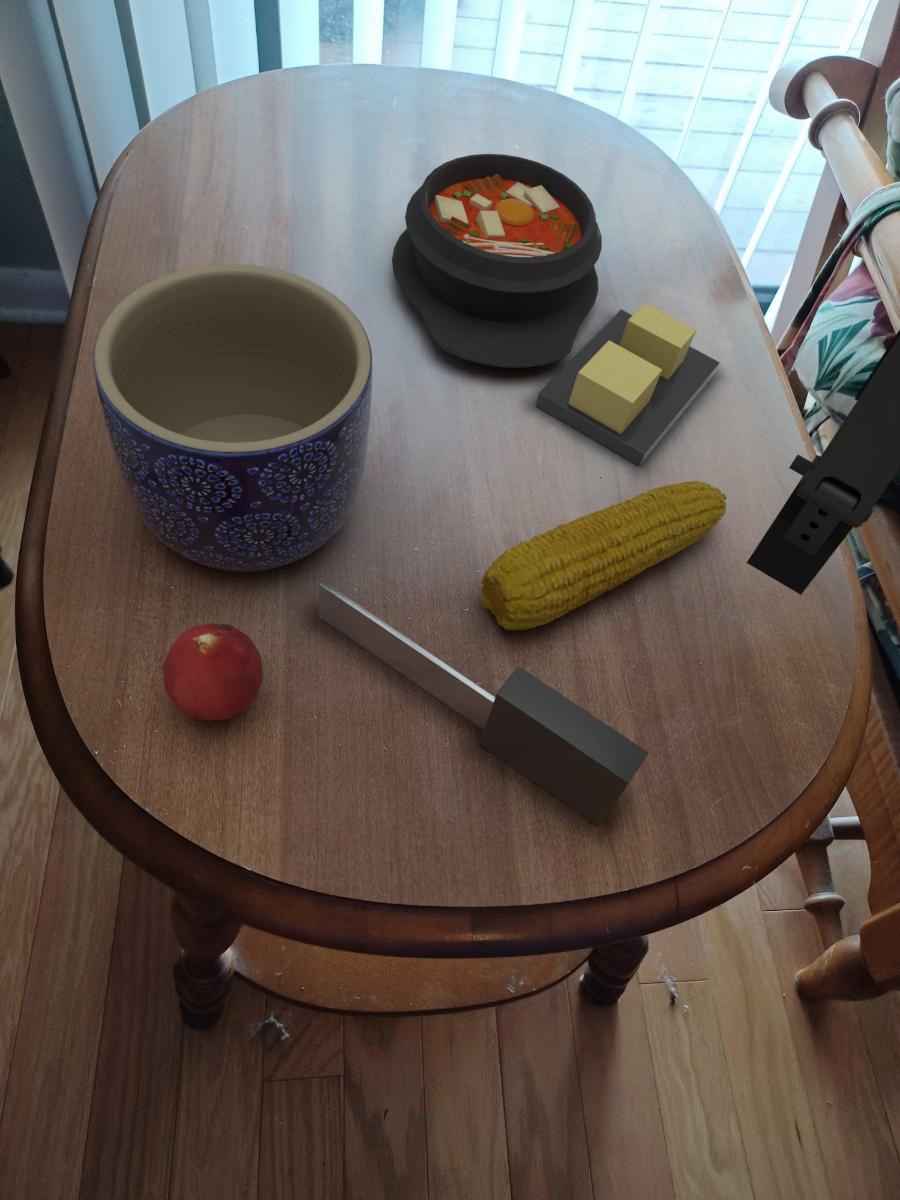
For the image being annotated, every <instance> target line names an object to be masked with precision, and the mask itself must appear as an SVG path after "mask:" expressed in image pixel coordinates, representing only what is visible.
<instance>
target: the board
mask: <svg viewBox="0 0 900 1200" xmlns="http://www.w3.org/2000/svg"><path fill="white" fill-rule="evenodd" d="M632 316H633V314H631V313H629V312H627V311H625V310H624V309H620V310H619V311H618V312H617V313H616V314H614V316H613V317H612V318H611V319H610V320H609V321H608V322H607V323H606V324H605V325H604V326H603V327H602V328H601V329H600V330H599V331H598V332H597V333H596V334H595V335H594V337H592V339H590V340H589V341H588V342H587V344H585V346H584V347H582V348H581V349H580V351H578V353H576V355H575V356H574V357H573V358H571V360H569V362H568V363H567V364H565V366H564V367H563V368H562V369H561V370H560V371H559V372H558V373H556V375H555V376H554V377H553V378H552V379H551V380H550V381H549V382H548V383H547V384H546V385H545V386H544V387H543V388H542V389H541V390H540V391H539V393H538V395H537V400H536V402H535V407H536V408H538V409H540V410H542V411H543V412H545V413H547V414H549V415H550V416H552V417H554V418H555V419H557V420H558V421H560V422H562V423H564V424H566V425H567V426H569V427H571V428H573V430H576V431H578V432H579V433H581V434H583V435H585V436H586V437H588V438H590V439H592V440H593V441H594V442H596V443H598V444H600V445H602V446H603V447H605V448H607V449H609V450H610V451H612V452H614V453H615V454H617V455H619V456H621V457H622V458H624V459H626V460H628V461H629V462H631V463H633V464H635V465H637V466H638V467H640V466H641V465H642V464H643V463H644V462H645V461H646V459H647V458H648V457H649V456H650V454H651V453H652V452H653V450H654V449H655V448H656V447H657V446H658V444H659V443H660V442H661V441H662V440H663V438H664V437H665V436H666V434H667V433H668V432H669V431H670V430H671V428H673V426H674V425H675V424H676V423H677V421H678V420H679V419H680V418H681V416H682V415H683V414H684V413H685V411H686V410H687V409H688V408H689V407H690V405H691V404H692V403H693V402H694V400H695V399H696V398H697V397H698V396H699V394H700V393H702V391H703V390H704V388H705V387H706V386H707V384H709V382H710V381H711V380H712V379H713V377H714V376H715V374H716V372H717V370H718V368H719V365H720V364H721V362H720V361H718V360H716V359H714V358H713V357H711V356H709V355H708V354H705V353H704V352H701V351H699V350H697V349H696V348H693V347H692V346H690V347H689V349H688V351H687V354H686V356H685V358H684V361H683V362H682V363H681V365H680V366H679V367H678V368H677V369H676V371H675V372H674V373H673V374H672V375H671V377H670V378H669V379H668V380H667V379H665V378H664V377H662V376H660V377H659V379H658V382H657V384H656V386H655V389H654V391H653V394H652V396H651V399H650V401H649V402H648V403H647V405H646V406H645V407H644V408H643V409H642V410H641V412H640V413H639V414H638V415H637V416H636V417H635V418H634V420H633V421H632V422H631V423H630V424H629V425H628V427H627V428H626V429H625V430H624V431H623V432H622V434H619V433H617V432H616V431H614V430H612V429H610V428H609V427H607V426H605V425H603V424H602V423H600V422H598V421H596V420H595V419H593V418H591V417H590V416H588V415H586V414H584V413H583V412H581V411H579V410H577V409H576V408H574V407H572V406H570V405H569V404H568V403H569V400H570V397H571V394H572V390H573V387H574V384H575V381H576V378H577V374H578V372H579V371H580V370H581V369H582V368H583V367H584V366H585V365H586V364H587V363H588V362H589V361H590V359H591V358H592V357H593V356H594V355H595V354H596V353H597V352H598V351H599V350H600V349H601V348H602V347H603V346H604V345H605V344H606V343H607V342H608V341H611V342H613V343H615V344H617V345H620V342H621V339H622V336H623V334H624V331H625V328H626V325H627V322H628V320H629V319H630V318H631V317H632Z"/></svg>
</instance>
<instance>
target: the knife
mask: <svg viewBox="0 0 900 1200" xmlns="http://www.w3.org/2000/svg"><path fill="white" fill-rule="evenodd" d="M318 618H320V619H321V620H322V621H324V622H325V623H326V624H328V625H330V626H331V627H333V628H335V629H336V630H337V631H338V632H340V633H341V634H343V635H344V636H346V637H347V638H349V639H350V640H351V641H352V642H354V643H356V644H357V645H359V646H360V647H362V648H363V649H364V650H366V651H367V652H369V653H370V654H371V655H373V656H375V657H376V658H378V659H379V660H380V661H381V662H383V663H385V664H386V665H387V666H388V667H390V668H392V669H394V670H395V671H396V672H398V673H400V675H402V676H403V677H405V678H406V679H408V680H409V681H411V682H412V683H414V684H415V685H416V686H418V687H420V689H422V690H424V691H425V692H427V693H428V694H430V695H431V696H432V697H434V698H435V699H437V700H438V701H440V702H441V703H443V704H444V705H446V706H447V707H448V708H450V709H451V710H453V711H454V712H456V713H457V714H459V715H460V716H461V717H462V718H465V719H466V720H467V721H469V722H470V723H472V724H473V725H474V726H476V727H477V728H479V729H480V730H482V735H481V737H480V740H479V744H478V745H479V746H480V747H482V748H483V749H485V750H486V751H488V752H489V753H491V754H492V755H493V756H495V757H496V758H498V760H501V761H502V762H503V763H504V764H506V765H508V766H509V767H510V768H512V769H514V770H515V771H516V772H518V773H519V774H520V775H522V776H524V777H525V778H526V779H528V780H529V781H531V782H532V783H533V784H535V785H536V786H538V787H539V788H541V789H542V790H543V791H545V792H546V793H548V794H549V795H551V796H552V797H554V798H555V799H556V800H558V801H560V802H561V803H562V804H564V805H565V806H567V808H569V809H570V810H572V811H574V812H575V813H577V814H578V815H579V816H581V817H583V818H584V819H586V820H587V821H588V822H590V823H591V824H593V825H594V826H595V827H597V828H599V827H600V826H601V824H602V823H603V821H604V819H605V818H606V817H607V815H608V814H609V812H610V811H611V810H612V808H613V807H614V805H615V804H616V803H617V801H618V800H619V798H621V796H622V794H623V793H624V791H625V790H626V789H627V787H628V786H629V785H630V783H631V781H632V780H633V778H634V777H635V776H636V773H637V772H638V770H639V769H640V768H641V766H642V764H643V763H644V762H645V760H646V758H647V756H648V755H649V751H647V750H646V749H644V747H643V748H642V747H641V746H640V745H638V744H637V743H636V742H634V741H632V740H631V739H629V738H628V737H626V735H625V736H624V735H623V734H621V733H620V732H619V731H617V730H615V729H614V728H612V727H611V726H609V725H608V724H607V723H605V722H604V721H602V720H601V719H599V718H597V717H596V716H594V715H593V714H591V713H590V712H588V711H587V710H586V709H584V708H582V707H581V706H579V705H578V704H577V703H575V702H574V701H572V700H570V699H569V698H567V697H566V696H564V695H563V694H561V693H560V692H558V691H557V690H555V689H554V688H552V687H551V686H549V685H548V684H546V683H545V682H543V681H542V680H540V679H539V678H537V677H535V676H534V675H532V674H531V673H529V672H528V671H527V670H525V669H524V668H522V667H521V666H519V665H518V666H517V667H516V668H515V669H514V671H513V672H512V673H511V674H510V676H509V677H508V678H507V680H505V682H504V683H503V685H502V686H501V687H500V689H499V690H498V691H497V692H496V694H495V696H494V695H493V694H492V693H490V692H488V691H486V689H484V688H482V687H481V686H479V685H478V684H476V683H475V682H473V681H472V680H471V679H469V678H468V677H466V676H465V675H463V674H462V673H461V672H459V671H458V670H456V669H454V668H453V667H452V666H450V665H448V664H447V663H445V662H444V661H442V660H441V659H440V658H438V657H436V656H435V655H434V654H432V653H431V652H429V651H428V650H426V649H424V648H423V647H422V646H420V645H419V644H418V643H416V642H414V641H413V640H412V639H410V638H409V637H407V636H406V635H404V634H403V633H401V632H400V631H398V630H397V629H395V628H394V627H392V626H391V625H389V624H388V623H386V622H385V621H384V620H382V619H381V618H379V617H377V616H376V615H374V614H373V613H372V612H370V611H369V610H367V609H366V608H365V607H363V606H362V605H360V604H359V603H357V602H355V601H354V600H352V599H351V598H349V597H348V596H347V595H345V594H343V593H342V592H340V591H339V590H338V589H336V588H335V587H333V586H332V585H330V584H329V583H327V582H326V581H325V580H321V581H320V583H319V584H318Z"/></svg>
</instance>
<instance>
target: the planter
mask: <svg viewBox="0 0 900 1200" xmlns="http://www.w3.org/2000/svg"><path fill="white" fill-rule="evenodd" d="M92 362H93V363H92V365H93V372H94V379H95V384H96V391H97V394H98V398H99V403H100V407H101V411H102V415H103V419H104V423H105V427H106V431H107V435H108V439H109V442H110V445H111V448H112V452H113V455H114V459H115V462H116V466H117V469H118V471H119V474H120V476H121V479H122V483H123V485H124V488H125V490H126V492H127V495H128V498H129V499H130V501H131V503H132V505H133V506H132V507H133V508H134V510H135V511H136V513H137V515H138V516H139V517H140V519H141V520H142V522H143V523H144V524H145V526H146V528H147V529H148V530H149V531H150V532H151V533H152V534H153V536H154V537H156V539H157V540H159V542H161V543H162V544H163V545H164V546H166V547H167V548H169V549H170V550H171V551H174V552H175V553H176V554H178V555H181V556H182V557H184V558H186V559H187V560H189V561H192V562H194V563H197V564H199V565H202V566H205V567H209V568H213V569H218V570H221V571H222V570H223V571H230V572H244V573H245V572H259V571H260V572H261V571H267V570H272V569H276V568H280V567H284V566H286V565H287V566H288V565H290V564H292V563H294V562H297V561H300V560H301V559H303V558H306V557H307V556H309V555H311V554H313V553H314V552H315V551H317V550H318V549H319V548H321V547H322V546H323V545H325V544H326V543H327V542H328V541H329V540H330V539H332V538H333V537H334V535H336V533H338V531H339V530H340V529H341V528H342V526H343V525H344V524H345V522H346V521H347V519H348V517H349V515H350V513H351V512H352V510H353V508H354V505H355V503H356V501H357V498H358V495H359V492H360V489H361V484H362V479H363V474H364V470H365V462H366V459H367V452H368V443H369V442H368V441H369V434H370V433H369V432H370V424H371V412H372V411H371V410H372V395H373V354H372V347H371V343H370V340H369V337H368V335H367V332H366V330H365V328H364V325H363V324H362V323H361V321H360V320H359V318H358V317H357V316H356V314H355V313H354V311H353V310H351V308H349V306H348V305H347V304H346V303H344V301H343V300H341V298H339V297H338V296H336V295H335V294H334V293H332V292H331V291H329V290H328V289H327V288H325V287H323V286H321V285H320V284H317V283H316V282H314V281H312V280H309V279H307V278H304V277H302V276H301V275H297V274H295V273H292V272H289V271H285V270H282V269H277V268H273V267H268V266H262V265H256V264H243V263H220V264H217V263H216V264H210V265H209V264H208V265H207V264H206V265H201V266H194V267H189V268H186V269H182V270H181V269H180V270H178V271H174V272H171V273H168V274H166V275H163V276H161V277H158V278H156V279H153V280H151V281H150V282H148V283H146V284H144V285H142V286H141V287H139V288H137V289H136V290H134V291H132V292H131V293H130V294H129V295H127V296H126V297H125V298H123V300H121V301H120V302H119V303H118V304H117V305H116V306H115V307H114V308H113V309H112V311H111V312H110V313H109V314H108V315H107V317H106V318H105V320H104V321H103V323H102V324H101V327H100V329H99V330H98V333H97V336H96V339H95V343H94V348H93V355H92Z"/></svg>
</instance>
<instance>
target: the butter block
mask: <svg viewBox="0 0 900 1200" xmlns="http://www.w3.org/2000/svg"><path fill="white" fill-rule="evenodd" d="M661 372H662V369H660V368H659V367H657V366H655V365H653V364H651V363H649V362H648V361H646V360H644V359H642V358H640V357H639V356H637V355H635V354H633V353H631V352H629V351H628V350H626V349H624V348H622V347H620V346H619V345H617V344H615V343H613V342H611V341H608V342H607V343H606V344H605V345H604V346H603V347H602V348H601V349H600V350H599V351H598V352H597V353H596V354H595V355H594V356H593V357H592V358H591V359H590V361H589V362H588V363H587V364H586V365H585V366H584V367H583V368H582V369H581V370H580V371H579V372H578V374H577V378H576V381H575V384H574V387H573V390H572V394H571V397H570V400H569V403H568V404H569V405H570V406H572V407H574V408H576V409H577V410H579V411H581V412H583V413H584V414H586V415H588V416H590V417H591V418H593V419H595V420H596V421H598V422H600V423H602V424H603V425H605V426H607V427H609V428H610V429H612V430H614V431H616V432H617V433H619V434H622V432H623V431H624V430H625V429H626V428H627V427H628V425H629V424H630V423H631V422H632V421H633V420H634V418H635V417H636V416H637V415H638V414H639V413H640V412H641V410H642V409H643V408H644V407H645V406H646V405H647V403H648V402H649V401H650V399H651V396H652V394H653V391H654V389H655V386H656V384H657V382H658V379H659V377H660V374H661Z"/></svg>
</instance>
